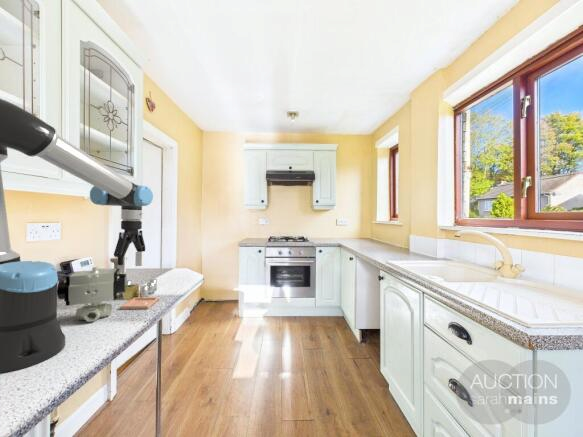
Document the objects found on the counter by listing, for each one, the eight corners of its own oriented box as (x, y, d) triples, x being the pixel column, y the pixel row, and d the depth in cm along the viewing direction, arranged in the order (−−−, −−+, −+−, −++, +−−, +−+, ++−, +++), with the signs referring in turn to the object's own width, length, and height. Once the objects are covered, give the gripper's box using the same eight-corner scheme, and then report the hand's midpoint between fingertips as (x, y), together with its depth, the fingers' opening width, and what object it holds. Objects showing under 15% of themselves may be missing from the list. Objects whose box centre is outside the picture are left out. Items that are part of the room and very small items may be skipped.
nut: (135, 299, 105) (135, 287, 105) (119, 299, 105) (119, 287, 104) (141, 295, 111) (142, 283, 110) (127, 295, 110) (127, 283, 110)
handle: (127, 289, 118) (127, 258, 118) (110, 292, 113) (111, 259, 113) (125, 287, 121) (125, 256, 121) (109, 289, 117) (109, 258, 117)
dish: (147, 309, 95) (147, 306, 95) (120, 309, 94) (120, 306, 94) (159, 300, 105) (159, 297, 105) (134, 300, 104) (134, 297, 104)
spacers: (144, 300, 104) (144, 288, 104) (106, 300, 103) (106, 288, 103) (159, 289, 119) (160, 279, 119) (127, 289, 118) (127, 279, 118)
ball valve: (54, 329, 78) (55, 272, 77) (64, 318, 85) (64, 267, 85) (123, 318, 86) (124, 268, 86) (126, 310, 94) (127, 263, 93)
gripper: (124, 221, 95) (123, 276, 95) (153, 219, 120) (153, 263, 120) (103, 220, 94) (102, 276, 94) (137, 219, 119) (136, 263, 119)
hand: (130, 269), depth 107 cm, fingers open, 13 cm apart
